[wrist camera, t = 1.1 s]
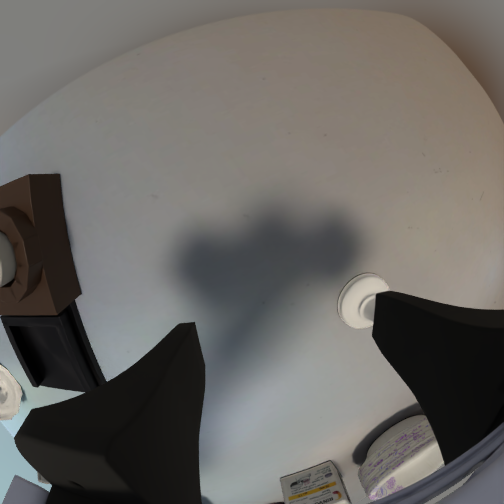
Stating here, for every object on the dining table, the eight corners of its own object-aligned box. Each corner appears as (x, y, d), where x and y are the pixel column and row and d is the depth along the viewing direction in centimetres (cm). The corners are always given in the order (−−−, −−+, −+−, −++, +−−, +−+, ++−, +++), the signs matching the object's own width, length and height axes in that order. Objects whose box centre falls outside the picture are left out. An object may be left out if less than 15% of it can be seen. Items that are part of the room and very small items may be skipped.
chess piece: (395, 285, 22) (471, 337, 12) (368, 331, 23) (428, 400, 13) (356, 263, 21) (435, 318, 11) (326, 316, 22) (383, 394, 12)
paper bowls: (451, 404, 29) (476, 432, 21) (390, 464, 31) (406, 494, 24) (404, 393, 26) (436, 434, 18) (329, 464, 28) (344, 506, 21)
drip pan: (110, 389, 22) (103, 404, 20) (42, 381, 21) (34, 393, 19) (74, 299, 19) (61, 311, 17) (8, 303, 19) (-5, 311, 16)
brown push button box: (83, 293, 19) (47, 326, 14) (1, 298, 19) (-32, 322, 13) (62, 173, 17) (14, 173, 11) (-19, 204, 16) (-58, 213, 10)
